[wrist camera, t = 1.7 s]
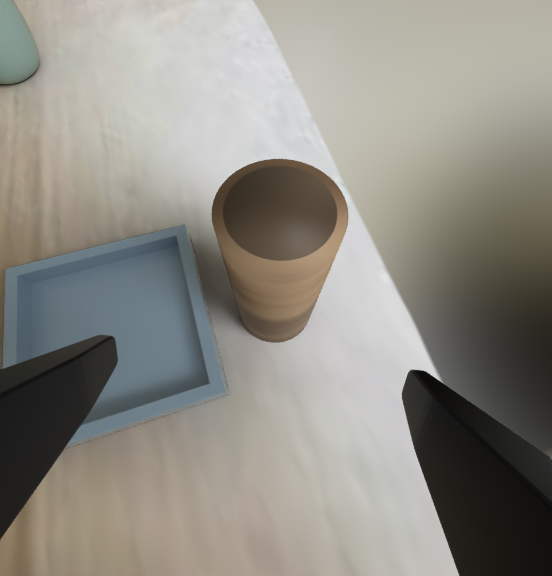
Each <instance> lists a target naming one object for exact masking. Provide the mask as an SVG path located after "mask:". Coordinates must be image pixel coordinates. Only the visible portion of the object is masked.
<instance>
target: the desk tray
mask: <svg viewBox="0 0 552 576" xmlns="http://www.w3.org/2000/svg"><path fill="white" fill-rule="evenodd" d="M97 335H110V336H113V337H114V338H115V340H116V347H117V354H118V363H117V366H116V368H115V369H114V371H113V373H112V375H111V377H110V378H109V380H108V382H107V384H106V385H105V387H104V389H103V391H102V393H101V394H100V396H99V398H98V400H97V401H96V403H95V405H94V406H93V408H92V410H91V411H90V413H89V414H88V416H87V417H86V419H85V420H84V421H83V423H82V424H81V426H80V427H79V429H78V430H77V431H76V433H75V434H74V436H73V437H72V439H71V440H70V441H69V443H68V444H67V446H66V447H65V448H64V449H67V448H70V447H73V446H76V445H79V444H82V443H85V442H88V441H91V440H94V439H97V438H100V437H103V436H106V435H109V434H112V433H115V432H118V431H121V430H124V429H127V428H130V427H133V426H136V425H139V424H142V423H145V422H148V421H151V420H154V419H157V418H160V417H163V416H166V415H169V414H172V413H175V412H178V411H181V410H184V409H187V408H190V407H193V406H196V405H199V404H202V403H205V402H208V401H211V400H214V399H217V398H220V397H223V396H226V395H229V390H228V385H227V381H226V377H225V373H224V369H223V365H222V361H221V357H220V353H219V349H218V345H217V341H216V337H215V333H214V329H213V325H212V321H211V317H210V313H209V309H208V305H207V301H206V297H205V293H204V289H203V285H202V281H201V277H200V273H199V269H198V265H197V260H196V256H195V252H194V248H193V244H192V240H191V238H190V236H189V233H188V231H187V229H186V227H185V225H181V226H177V227H173V228H169V229H165V230H161V231H157V232H153V233H149V234H145V235H140V236H136V237H132V238H128V239H124V240H120V241H116V242H112V243H108V244H104V245H100V246H96V247H92V248H88V249H84V250H80V251H76V252H72V253H68V254H64V255H60V256H56V257H52V258H48V259H44V260H40V261H35V262H31V263H27V264H23V265H19V266H15V267H11V268H7V269H5V302H4V339H3V368H6V367H9V366H12V365H15V364H18V363H20V362H23V361H26V360H29V359H32V358H35V357H37V356H40V355H43V354H46V353H49V352H51V351H54V350H57V349H60V348H63V347H66V346H68V345H71V344H74V343H77V342H80V341H82V340H85V339H88V338H91V337H94V336H97Z"/></svg>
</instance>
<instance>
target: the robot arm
mask: <svg viewBox="0 0 552 576" xmlns="http://www.w3.org/2000/svg"><path fill="white" fill-rule="evenodd" d="M117 363H118V354H117V347H116V340H115V338H114V337H113V336H110V335H97V336H94V337H91V338H88V339H85V340H82V341H80V342H77V343H74V344H71V345H68V346H66V347H63V348H60V349H57V350H54V351H51V352H49V353H46V354H43V355H40V356H37V357H35V358H32V359H29V360H26V361H23V362H20V363H18V364H15V365H12V366H9V367H6V368H3V369H1V370H0V539H1V538H2V536H3V535H4V534H5V532H6V531H7V529H8V528H9V527H10V525H11V524H12V522H13V521H14V519H15V518H16V517H17V515H18V514H19V512H20V511H21V510H22V508H23V507H24V505H25V504H26V502H27V501H28V500H29V498H30V497H31V495H32V494H33V492H34V491H35V490H36V488H37V487H38V485H39V484H40V483H41V481H42V480H43V478H44V477H45V475H46V474H47V473H48V471H49V470H50V468H51V467H52V465H53V464H54V463H55V461H56V460H57V458H58V457H59V456H60V454H61V453H62V451H63V450H64V448H65V447H66V446H67V444H68V443H69V441H70V440H71V439H72V437H73V436H74V434H75V433H76V431H77V430H78V429H79V427H80V426H81V424H82V423H83V421H84V420H85V419H86V417H87V416H88V414H89V413H90V411H91V410H92V408H93V406H94V405H95V403H96V401H97V400H98V398H99V396H100V394H101V393H102V391H103V389H104V387H105V385H106V384H107V382H108V380H109V378H110V377H111V375H112V373H113V371H114V369H115V368H116V366H117ZM402 400H403V404H404V409H405V413H406V417H407V421H408V425H409V429H410V434H411V438H412V442H413V445H414V449H415V452H416V455H417V458H418V461H419V464H420V466H421V469H422V472H423V475H424V478H425V480H426V483H427V486H428V489H429V492H430V494H431V497H432V500H433V503H434V506H435V509H436V511H437V514H438V517H439V520H440V523H441V525H442V528H443V531H444V534H445V537H446V539H447V542H448V545H449V548H450V551H451V554H452V556H453V559H454V562H455V565H456V568H457V570H458V573H459V576H552V460H551V458H550V457H549V456H548V455H546V454H545V453H543V452H542V451H540V450H539V449H538V448H536V447H535V446H533V445H532V444H530V443H529V442H527V441H526V440H524V439H523V438H521V437H520V436H519V435H517V434H516V433H514V432H513V431H511V430H510V429H508V428H507V427H506V426H504V425H503V424H501V423H500V422H498V421H497V420H495V419H494V418H492V417H491V416H490V415H488V414H487V413H485V412H484V411H482V410H481V409H479V408H478V407H476V406H475V405H473V404H472V403H471V402H469V401H467V400H466V399H465V398H463V397H462V396H460V395H459V394H458V393H456V392H455V391H453V390H452V389H450V388H449V387H447V386H446V385H444V384H443V383H442V382H440V381H439V380H437V379H436V378H434V377H433V376H431V375H430V374H428V373H427V372H425V371H421V370H410V371H409V372H408V375H407V378H406V381H405V384H404V387H403V391H402Z"/></svg>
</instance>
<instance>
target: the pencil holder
mask: <svg viewBox="0 0 552 576" xmlns="http://www.w3.org/2000/svg"><path fill="white" fill-rule="evenodd" d="M212 222H213V226H214V230H215V233H216V237H217V240H218V243H219V247H220V250H221V253H222V257H223V260H224V263H225V267H226V270H227V273H228V277H229V280H230V283H231V287H232V290H233V293H234V297H235V300H236V303H237V307H238V310H239V313H240V317H241V320H242V322H243V324H244V326H245V327H246V329H247V330H248V331H249V332H250V333H251V334H252V335H254V336H255V337H257V338H259V339H261V340H263V341H267V342H284V341H287V340H290V339H292V338H294V337H295V336H297V335H298V334H299V333H300V332H301V331H302V330H303V329H304V327H305V326H306V324H307V322H308V320H309V318H310V315H311V313H312V310H313V308H314V306H315V303H316V301H317V299H318V296H319V294H320V292H321V289H322V287H323V285H324V282H325V280H326V278H327V275H328V273H329V270H330V268H331V266H332V263H333V261H334V259H335V256H336V254H337V252H338V249H339V247H340V245H341V242H342V240H343V237H344V235H345V232H346V229H347V225H348V208H347V204H346V201H345V198H344V196H343V194H342V192H341V190H340V189H339V187H338V186H337V185H336V184H335V182H334V181H333V180H332V179H331V178H330V177H328V176H327V175H326V174H325V173H323V172H322V171H320V170H318V169H317V168H315V167H313V166H310V165H308V164H305V163H302V162H299V161H294V160H287V159H270V160H263V161H259V162H255V163H252V164H249V165H247V166H245V167H243V168H241V169H239V170H238V171H236V172H235V173H233V174H232V175H231V176H230V177H229V178H228V179H227V180H226V181H225V182H224V183H223V184H222V186H221V187H220V188H219V190H218V192H217V194H216V196H215V199H214V202H213V206H212Z"/></svg>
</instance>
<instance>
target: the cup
mask: <svg viewBox="0 0 552 576" xmlns="http://www.w3.org/2000/svg"><path fill="white" fill-rule="evenodd" d="M38 65H39V52H38V48H37V45H36V42H35V40H34V37H33V35H32V33H31V31H30V29H29V27H28V25H27V23H26V21H25V19H24V18H23V16H22V14H21V12H20V11H19V9H18V7H17V5H16V4H15V2H14V0H0V84H14V83H18V82H21V81H23V80H25V79H27V78H28V77H30V76H31V75H32V74H33V73H34V72H35V71H36V69H37V67H38Z"/></svg>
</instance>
